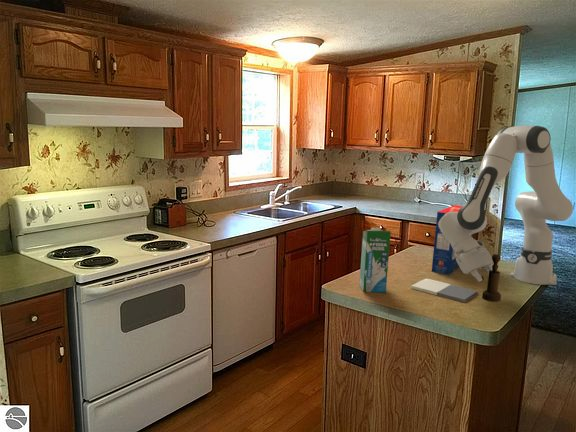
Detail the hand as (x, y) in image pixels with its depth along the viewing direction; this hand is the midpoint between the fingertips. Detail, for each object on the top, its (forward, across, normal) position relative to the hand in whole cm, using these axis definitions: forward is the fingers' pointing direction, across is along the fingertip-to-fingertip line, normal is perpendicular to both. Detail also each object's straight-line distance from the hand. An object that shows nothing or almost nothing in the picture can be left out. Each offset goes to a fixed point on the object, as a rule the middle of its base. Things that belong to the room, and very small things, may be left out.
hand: (487, 278), depth 186 cm
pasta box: (-16, +28, +28) cm, 43 cm away
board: (-4, -7, +15) cm, 17 cm away
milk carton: (-18, -29, +29) cm, 45 cm away
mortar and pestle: (+7, 0, +4) cm, 8 cm away
